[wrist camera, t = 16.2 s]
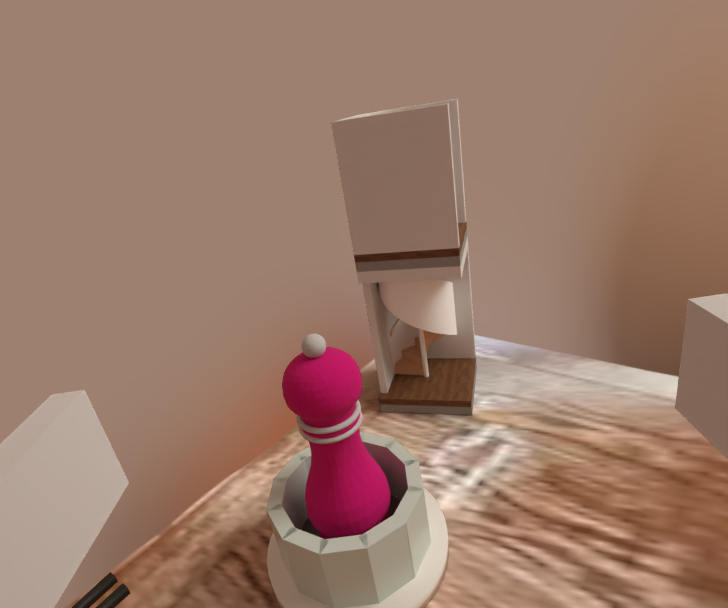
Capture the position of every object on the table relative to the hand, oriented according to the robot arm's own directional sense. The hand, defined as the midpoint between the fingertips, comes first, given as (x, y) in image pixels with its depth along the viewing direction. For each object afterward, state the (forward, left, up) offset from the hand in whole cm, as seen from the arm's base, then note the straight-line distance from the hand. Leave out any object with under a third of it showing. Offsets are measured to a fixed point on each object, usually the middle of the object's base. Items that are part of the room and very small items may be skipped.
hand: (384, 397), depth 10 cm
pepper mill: (+5, -22, -29) cm, 36 cm away
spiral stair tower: (-5, -45, -31) cm, 54 cm away
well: (+5, -22, -30) cm, 38 cm away
